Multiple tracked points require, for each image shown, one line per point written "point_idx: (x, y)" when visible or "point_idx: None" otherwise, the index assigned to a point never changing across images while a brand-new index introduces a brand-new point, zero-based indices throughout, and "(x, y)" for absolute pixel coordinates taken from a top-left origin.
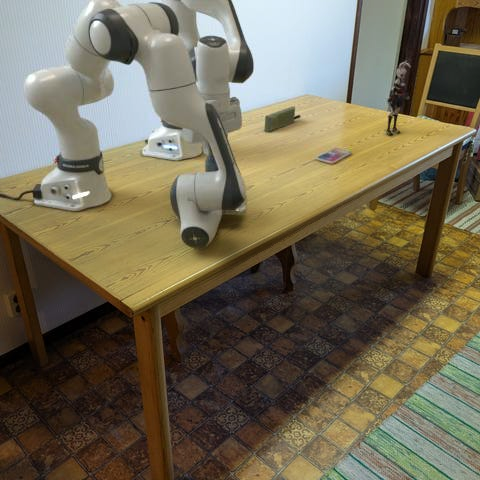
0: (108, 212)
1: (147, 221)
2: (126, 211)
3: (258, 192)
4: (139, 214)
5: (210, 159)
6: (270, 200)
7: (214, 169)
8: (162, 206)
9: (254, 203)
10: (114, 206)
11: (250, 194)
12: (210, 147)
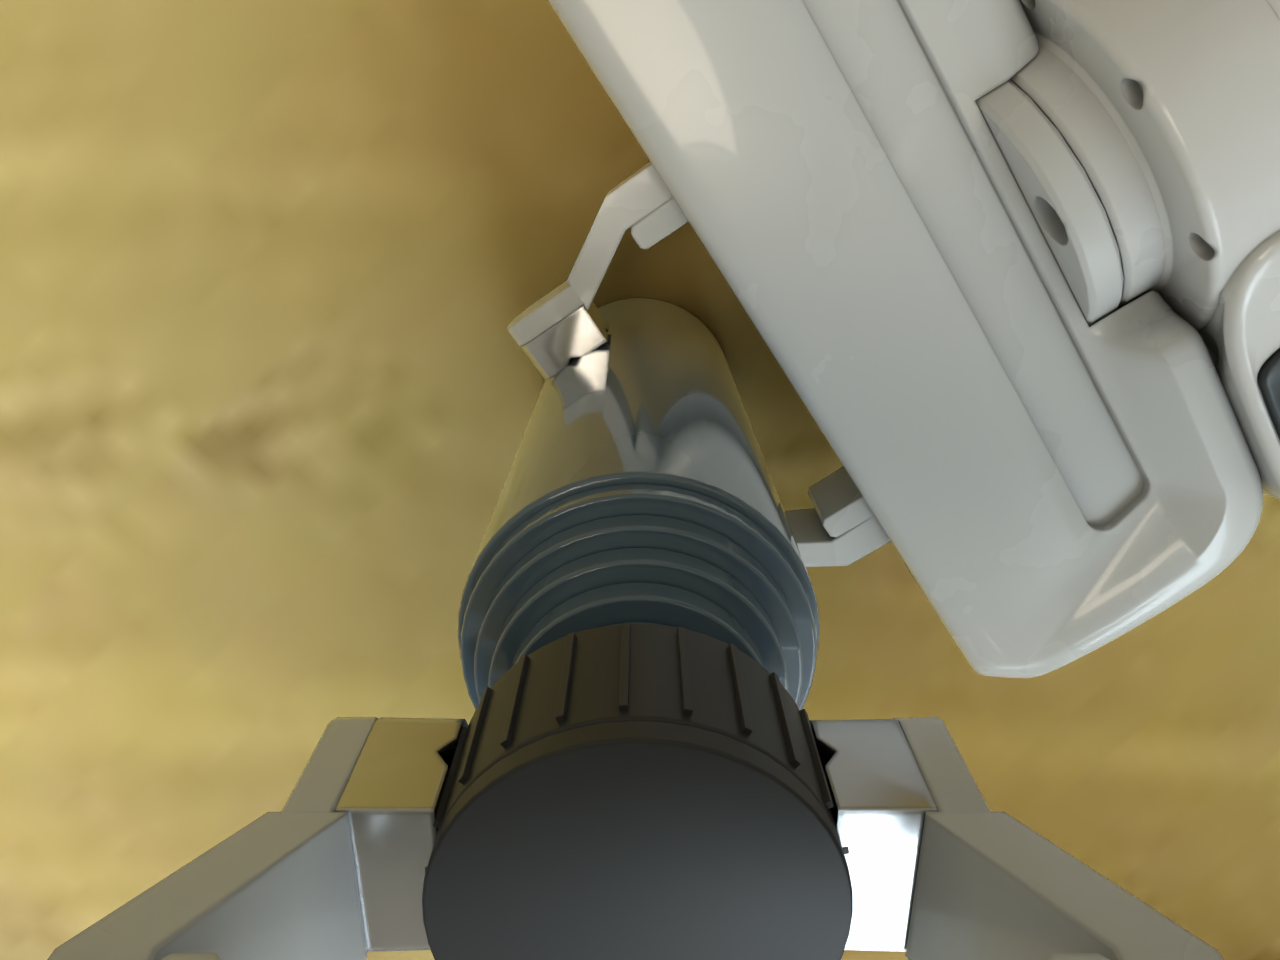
0: (1274, 910)
1: (1251, 607)
2: (1189, 839)
3: (41, 280)
4: (1178, 739)
5: (786, 659)
6: (66, 22)
7: (762, 486)
8: (947, 718)
9: (273, 117)
10: None
11: (150, 312)
12: (844, 848)
